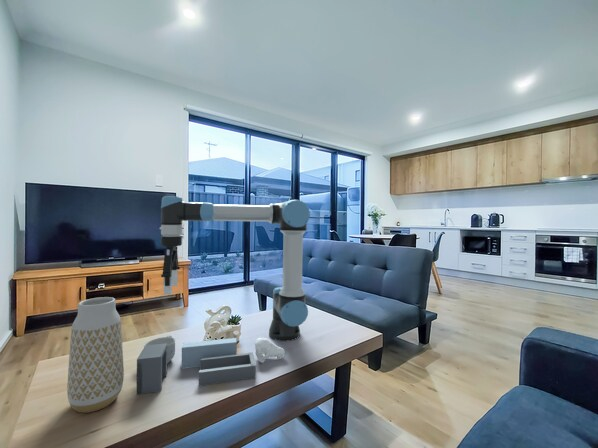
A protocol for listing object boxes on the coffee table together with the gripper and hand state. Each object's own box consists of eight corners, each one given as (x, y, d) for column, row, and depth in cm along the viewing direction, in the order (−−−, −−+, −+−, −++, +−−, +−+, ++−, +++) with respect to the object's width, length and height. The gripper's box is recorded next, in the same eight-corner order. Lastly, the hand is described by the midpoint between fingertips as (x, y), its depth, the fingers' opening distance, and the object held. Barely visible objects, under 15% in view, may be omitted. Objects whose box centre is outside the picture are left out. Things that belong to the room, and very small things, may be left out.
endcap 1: (166, 374, 99) (167, 343, 99) (160, 391, 89) (161, 356, 89) (145, 377, 97) (145, 345, 97) (136, 394, 87) (136, 359, 87)
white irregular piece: (256, 334, 113) (285, 336, 115) (253, 355, 113) (282, 356, 115) (255, 341, 107) (286, 343, 109) (253, 363, 107) (284, 364, 109)
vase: (105, 384, 93) (105, 293, 92) (133, 394, 87) (134, 298, 87) (56, 409, 80) (56, 304, 80) (86, 424, 75) (86, 311, 74)
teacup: (162, 371, 101) (162, 350, 101) (136, 368, 103) (137, 346, 103) (185, 353, 114) (185, 334, 114) (162, 350, 116) (162, 332, 116)
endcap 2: (252, 363, 107) (252, 352, 107) (255, 378, 98) (255, 365, 97) (200, 370, 102) (200, 358, 102) (198, 385, 92) (198, 372, 92)
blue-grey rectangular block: (235, 357, 112) (236, 337, 112) (236, 362, 108) (236, 342, 108) (182, 363, 107) (183, 343, 107) (181, 369, 103) (181, 347, 103)
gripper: (167, 234, 119) (166, 283, 120) (153, 237, 95) (152, 299, 96) (185, 234, 121) (185, 282, 122) (176, 237, 97) (176, 297, 98)
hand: (170, 289), depth 109 cm, fingers open, 13 cm apart
